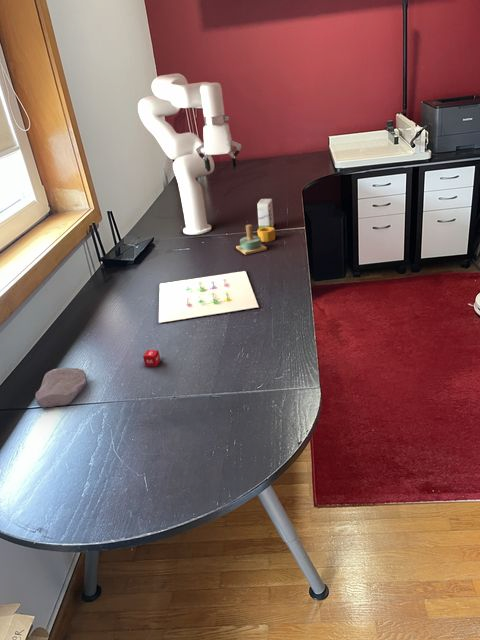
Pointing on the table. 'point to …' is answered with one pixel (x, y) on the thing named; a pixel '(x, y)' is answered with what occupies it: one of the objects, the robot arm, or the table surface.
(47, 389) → the stone block
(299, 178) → the table surface
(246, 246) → the stacking peg
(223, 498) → the table surface
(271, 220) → the ink box
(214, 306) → the printed paper
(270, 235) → the ring
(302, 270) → the table surface
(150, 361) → the dice
